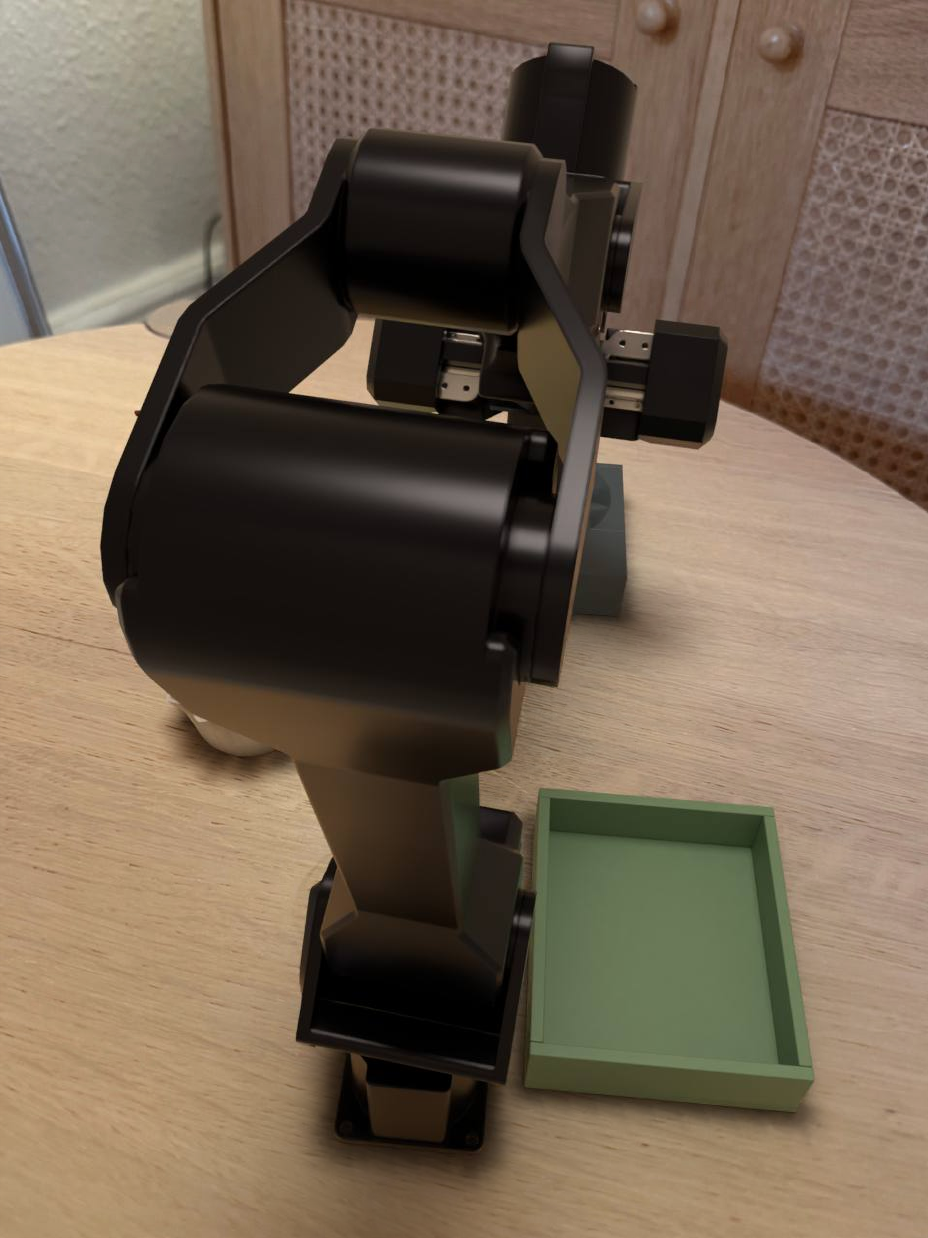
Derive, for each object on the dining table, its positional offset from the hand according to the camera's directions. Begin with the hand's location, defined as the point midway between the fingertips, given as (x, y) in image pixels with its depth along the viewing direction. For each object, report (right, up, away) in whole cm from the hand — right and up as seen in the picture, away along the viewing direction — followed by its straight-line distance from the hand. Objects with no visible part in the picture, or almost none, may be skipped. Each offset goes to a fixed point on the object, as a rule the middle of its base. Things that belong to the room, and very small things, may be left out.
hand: (548, 402), depth 66 cm
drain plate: (-1, -9, +9) cm, 12 cm away
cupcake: (-18, -19, -3) cm, 26 cm away
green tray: (+4, -30, -13) cm, 33 cm away
